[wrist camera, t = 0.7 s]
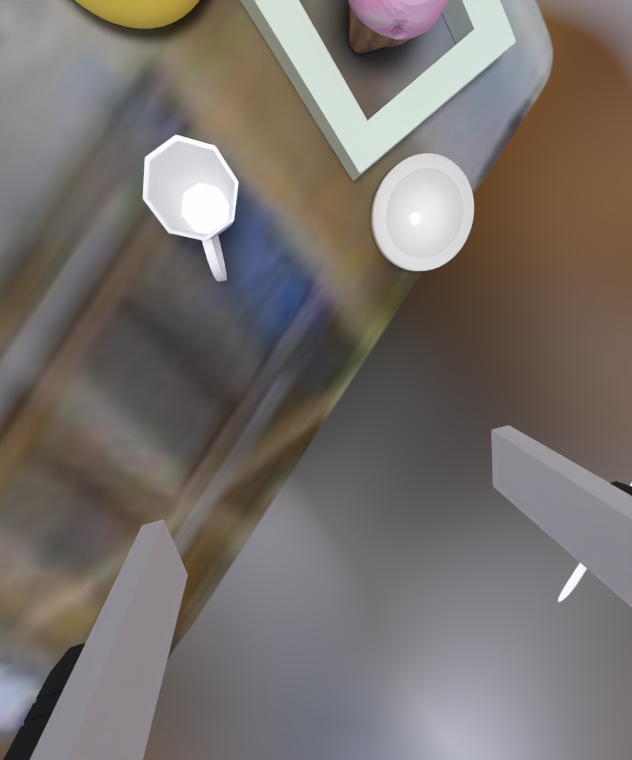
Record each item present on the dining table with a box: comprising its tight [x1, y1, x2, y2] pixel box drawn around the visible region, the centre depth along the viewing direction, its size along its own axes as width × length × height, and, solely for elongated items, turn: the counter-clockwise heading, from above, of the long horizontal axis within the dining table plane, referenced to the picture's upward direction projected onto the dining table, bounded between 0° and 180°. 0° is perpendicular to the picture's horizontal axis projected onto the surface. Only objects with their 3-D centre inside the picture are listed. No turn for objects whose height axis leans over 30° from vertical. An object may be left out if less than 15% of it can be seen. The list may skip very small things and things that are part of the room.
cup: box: [143, 135, 239, 282], centre depth 28 cm, size 7×10×8 cm
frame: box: [240, 0, 516, 181], centre depth 28 cm, size 18×18×2 cm
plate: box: [370, 153, 474, 271], centre depth 34 cm, size 11×11×1 cm
